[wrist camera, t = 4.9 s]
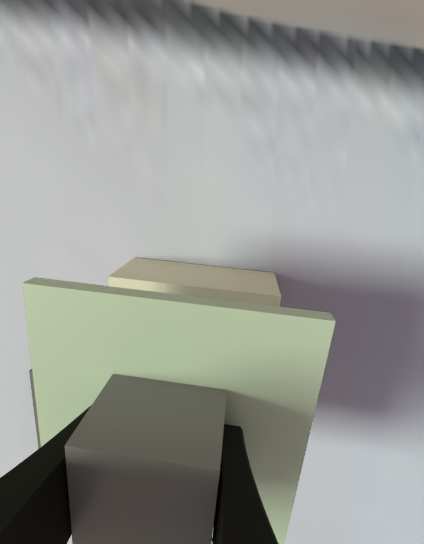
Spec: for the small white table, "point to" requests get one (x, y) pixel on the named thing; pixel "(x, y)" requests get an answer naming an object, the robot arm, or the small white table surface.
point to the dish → (198, 281)
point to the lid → (170, 403)
